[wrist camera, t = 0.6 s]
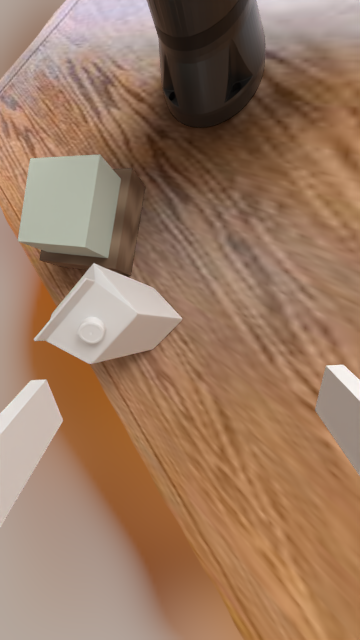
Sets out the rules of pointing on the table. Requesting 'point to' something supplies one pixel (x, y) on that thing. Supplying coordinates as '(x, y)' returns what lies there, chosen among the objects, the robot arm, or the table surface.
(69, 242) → the tower top
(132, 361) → the table surface
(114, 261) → the tower base
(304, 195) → the table surface
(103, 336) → the milk carton
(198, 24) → the robot arm
